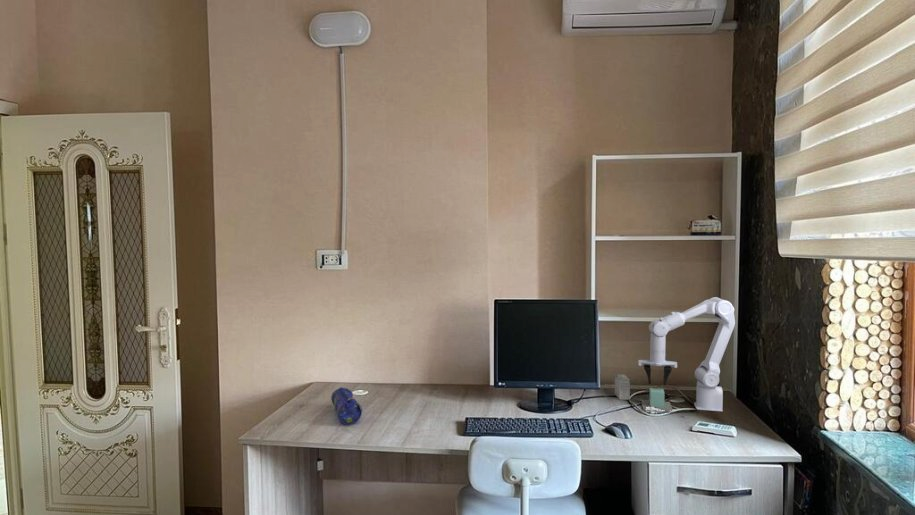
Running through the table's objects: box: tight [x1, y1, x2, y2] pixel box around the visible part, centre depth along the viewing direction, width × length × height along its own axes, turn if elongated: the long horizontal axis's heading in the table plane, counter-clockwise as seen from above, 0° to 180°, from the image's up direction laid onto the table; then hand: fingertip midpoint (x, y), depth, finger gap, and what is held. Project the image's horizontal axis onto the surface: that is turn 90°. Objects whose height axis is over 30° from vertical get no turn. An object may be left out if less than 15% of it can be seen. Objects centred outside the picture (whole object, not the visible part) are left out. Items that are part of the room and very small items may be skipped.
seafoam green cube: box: [648, 387, 665, 408], centre depth 224 cm, size 5×5×6 cm
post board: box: [640, 399, 673, 411], centre depth 225 cm, size 11×11×5 cm
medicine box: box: [614, 374, 631, 401], centre depth 237 cm, size 8×4×9 cm, turn 179°
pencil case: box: [330, 387, 363, 426], centre depth 216 cm, size 22×9×10 cm, turn 21°
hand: (657, 384), depth 224 cm, fingers open, 5 cm apart
